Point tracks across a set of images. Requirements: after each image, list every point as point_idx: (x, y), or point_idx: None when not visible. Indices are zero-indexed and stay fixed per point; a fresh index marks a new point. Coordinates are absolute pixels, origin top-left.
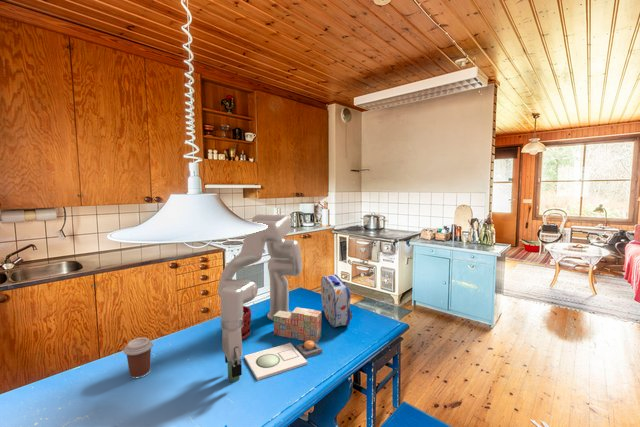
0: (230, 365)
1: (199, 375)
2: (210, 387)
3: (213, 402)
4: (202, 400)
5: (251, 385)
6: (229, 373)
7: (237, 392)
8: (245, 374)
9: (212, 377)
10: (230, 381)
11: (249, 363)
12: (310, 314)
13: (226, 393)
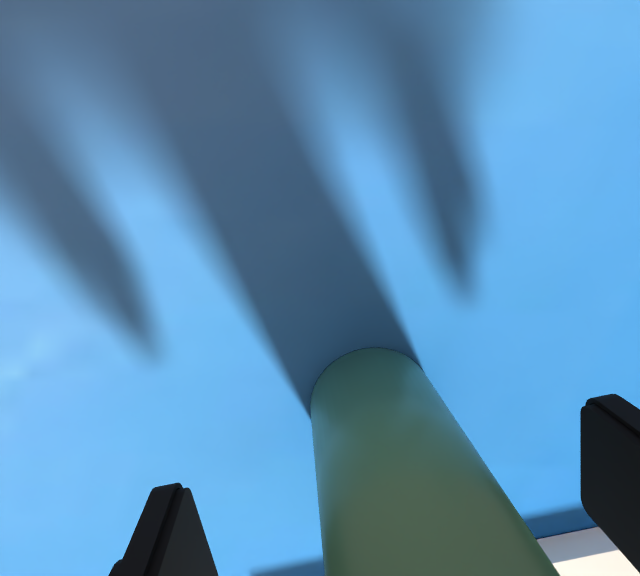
0: (345, 542)
1: (612, 5)
2: (301, 151)
3: (5, 184)
4: (67, 47)
5: None
6: (343, 421)
7: (129, 429)
8: None
9: (492, 178)
10: (324, 375)
11: None
12: None
13: (139, 326)
